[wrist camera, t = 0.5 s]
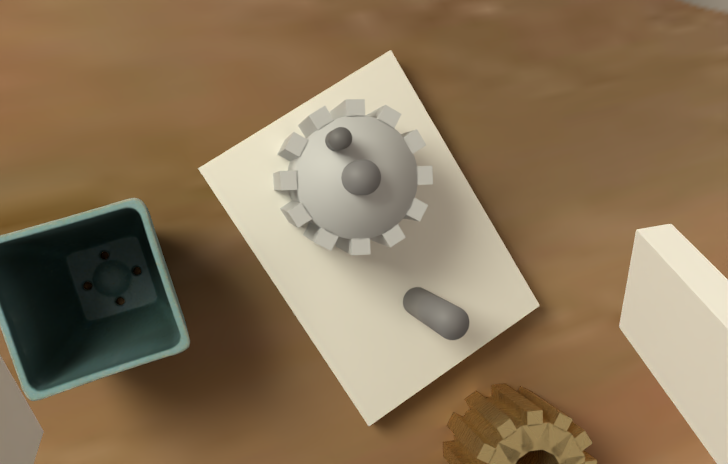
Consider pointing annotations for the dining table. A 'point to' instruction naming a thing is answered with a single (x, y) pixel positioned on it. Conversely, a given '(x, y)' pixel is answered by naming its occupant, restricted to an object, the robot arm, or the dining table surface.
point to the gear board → (385, 273)
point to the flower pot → (87, 299)
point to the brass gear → (515, 431)
